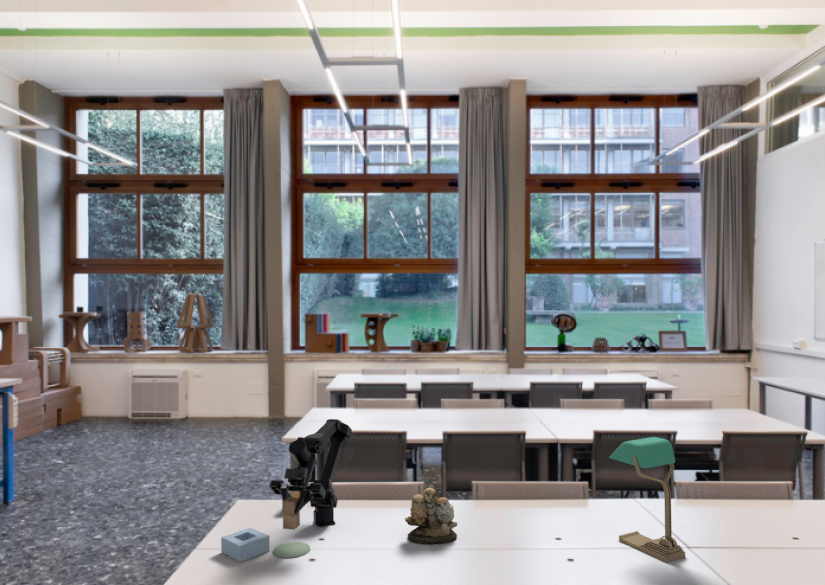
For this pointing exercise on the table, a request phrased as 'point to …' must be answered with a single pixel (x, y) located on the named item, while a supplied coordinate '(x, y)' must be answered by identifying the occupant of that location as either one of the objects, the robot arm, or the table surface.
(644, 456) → the banker's lamp
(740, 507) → the table surface
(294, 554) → the sage-green mat
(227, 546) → the slate-blue holder
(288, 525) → the walnut peg
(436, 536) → the owl figurine
